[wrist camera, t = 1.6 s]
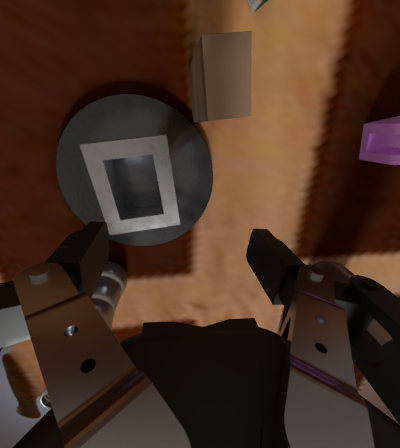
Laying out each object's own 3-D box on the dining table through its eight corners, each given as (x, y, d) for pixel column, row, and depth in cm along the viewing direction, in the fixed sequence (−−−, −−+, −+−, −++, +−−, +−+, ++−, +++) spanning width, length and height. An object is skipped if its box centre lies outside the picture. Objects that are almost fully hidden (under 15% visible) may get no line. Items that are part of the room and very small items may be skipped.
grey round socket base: (204, 88, 28) (212, 79, 23) (215, 231, 37) (222, 247, 32) (32, 104, 26) (1, 99, 21) (90, 250, 36) (78, 270, 31)
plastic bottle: (104, 289, 40) (51, 425, 22) (84, 263, 37) (4, 395, 19) (135, 278, 39) (108, 405, 22) (118, 251, 36) (70, 372, 19)
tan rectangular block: (218, 68, 27) (251, 30, 16) (220, 119, 30) (250, 116, 19) (188, 71, 27) (201, 34, 16) (193, 122, 29) (208, 120, 19)
